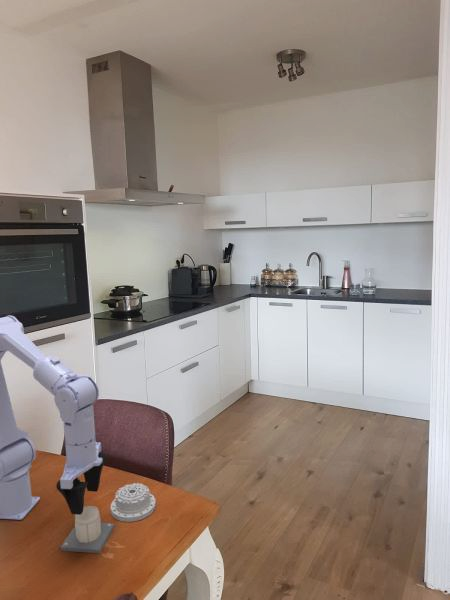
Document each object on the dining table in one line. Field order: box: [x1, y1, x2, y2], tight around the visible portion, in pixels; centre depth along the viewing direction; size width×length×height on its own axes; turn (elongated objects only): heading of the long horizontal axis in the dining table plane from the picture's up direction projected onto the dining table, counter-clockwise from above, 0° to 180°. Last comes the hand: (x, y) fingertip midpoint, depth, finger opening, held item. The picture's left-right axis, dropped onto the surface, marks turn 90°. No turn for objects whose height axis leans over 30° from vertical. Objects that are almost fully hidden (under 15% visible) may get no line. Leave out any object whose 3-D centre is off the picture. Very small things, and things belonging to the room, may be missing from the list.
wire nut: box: [74, 505, 101, 543], centre depth 94 cm, size 5×5×5 cm
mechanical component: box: [110, 482, 157, 523], centre depth 104 cm, size 10×4×10 cm
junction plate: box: [60, 522, 115, 554], centre depth 95 cm, size 8×8×4 cm
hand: (85, 501), depth 94 cm, fingers open, 7 cm apart
